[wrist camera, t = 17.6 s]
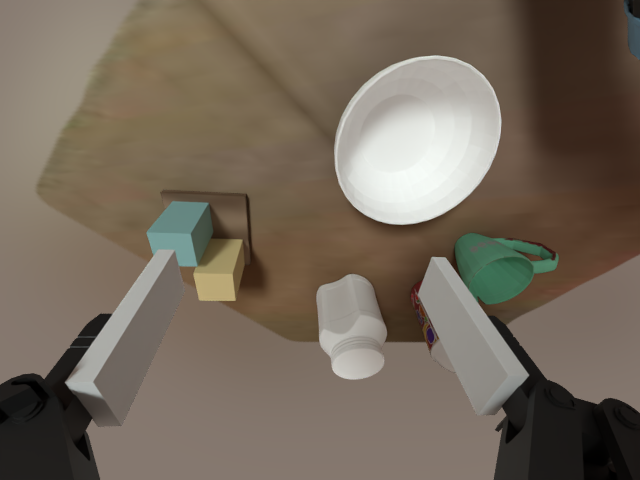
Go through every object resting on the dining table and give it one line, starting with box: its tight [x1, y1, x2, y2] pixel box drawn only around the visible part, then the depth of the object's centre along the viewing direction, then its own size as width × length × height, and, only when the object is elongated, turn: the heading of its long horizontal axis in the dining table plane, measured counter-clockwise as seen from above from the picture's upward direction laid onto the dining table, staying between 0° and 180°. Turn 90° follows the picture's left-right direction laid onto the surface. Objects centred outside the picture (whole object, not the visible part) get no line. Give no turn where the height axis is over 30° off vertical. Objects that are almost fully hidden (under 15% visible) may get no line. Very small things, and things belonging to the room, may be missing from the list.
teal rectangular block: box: [146, 201, 213, 266], centre depth 40 cm, size 5×5×9 cm
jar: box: [316, 274, 387, 379], centre depth 50 cm, size 12×10×15 cm
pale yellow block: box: [193, 238, 245, 301], centre depth 44 cm, size 5×5×9 cm
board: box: [161, 190, 251, 265], centre depth 45 cm, size 13×12×1 cm
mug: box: [455, 233, 559, 304], centre depth 47 cm, size 15×10×10 cm
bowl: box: [334, 55, 501, 225], centre depth 36 cm, size 19×19×9 cm
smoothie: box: [411, 280, 456, 373], centre depth 48 cm, size 8×8×20 cm
